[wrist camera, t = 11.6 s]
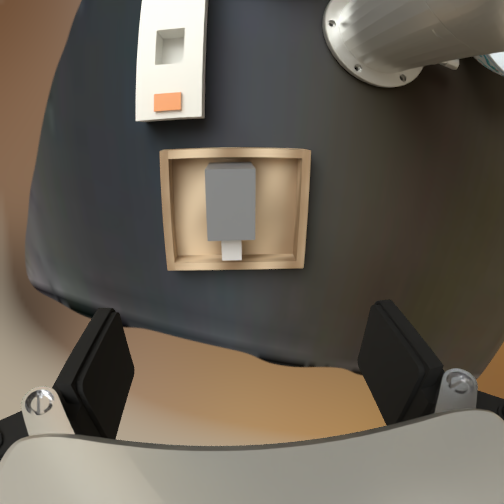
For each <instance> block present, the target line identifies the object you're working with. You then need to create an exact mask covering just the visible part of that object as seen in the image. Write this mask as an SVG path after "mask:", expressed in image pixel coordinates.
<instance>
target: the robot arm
mask: <svg viewBox="0 0 504 504" xmlns="http://www.w3.org/2000/svg"><path fill="white" fill-rule="evenodd" d="M329 24H330V25H331V26H332V27H331V26H329ZM322 28H323V33H324V38H325V40H326V43H327V46H328V48H329V49H330V51H331V53H332V55H333V56H334V58H335V59H336V60H337V61H338V62H339V64H340V65H341V66H342V67H343V68H344V69H345V70H347V71H348V72H349V73H350V74H351V75H353V76H354V77H356V78H357V79H359V80H361V81H363V82H365V83H367V84H370V85H373V86H377V87H384V88H391V87H398V86H403V85H405V84H407V83H410V82H411V81H413V80H414V79H415V78H416V77H417V76H418V75H419V74H420V72H421V71H422V69H423V66H427V65H431V64H434V65H435V64H437V63H439V64H441V65H442V66H445V67H447V68H450V69H452V70H456V69H457V68H458V66H459V59H461V58H467V57H473V56H479V55H486V54H492V53H499V52H504V0H331V1H330V2H329V3H328V5H327V7H326V9H325V11H324V15H323V22H322ZM354 67H355V68H356V69H357V71H356V70H355V68H354ZM400 78H401V79H400ZM358 366H359V368H360V370H361V372H362V374H363V377H364V379H365V381H366V383H367V385H368V387H369V389H370V391H371V393H372V395H373V397H374V399H375V401H376V404H377V406H378V408H379V410H380V412H381V414H382V416H383V419H384V421H385V423H386V425H387V426H383V427H379V428H374V429H370V430H365V431H361V432H356V433H350V434H345V435H340V436H333V437H327V438H321V439H313V440H305V441H297V442H288V443H278V444H264V445H246V446H184V445H165V444H153V443H142V442H132V441H122V440H115V439H116V435H117V431H118V427H119V424H120V420H121V417H122V413H123V410H124V406H125V403H126V400H127V396H128V393H129V390H130V386H131V383H132V380H133V377H134V365H133V362H132V359H131V355H130V352H129V348H128V344H127V341H126V337H125V333H124V330H123V326H122V322H121V318H120V314H119V313H118V312H115V310H114V309H113V308H98V310H97V311H96V313H95V314H94V316H93V318H92V319H91V321H90V322H89V324H88V326H87V328H86V329H85V331H84V332H83V334H82V336H81V337H80V339H79V341H78V342H77V344H76V346H75V347H74V349H73V351H72V353H71V354H70V356H69V358H68V360H67V361H66V363H65V365H64V367H63V369H62V370H61V372H60V374H59V376H58V378H57V380H56V382H55V383H54V385H53V387H52V388H50V387H47V386H41V387H36V388H34V389H32V390H30V391H29V392H27V393H26V394H25V396H24V397H23V399H22V402H21V409H22V411H20V412H18V413H16V414H14V415H11V416H9V417H7V418H5V419H2V420H0V504H504V399H502V398H499V397H495V396H492V395H490V394H487V393H484V392H481V391H478V390H477V388H478V386H477V382H476V380H475V378H474V377H473V376H472V375H471V374H470V373H468V372H467V371H465V370H462V369H450V370H448V371H446V372H444V370H443V369H442V368H443V366H444V365H443V364H442V363H441V361H440V360H439V359H438V358H437V356H436V355H435V354H434V352H433V351H432V350H431V348H430V347H429V346H428V345H427V343H426V342H425V341H424V339H423V338H422V337H421V336H420V334H419V333H418V332H417V331H416V329H415V328H414V327H413V326H412V324H411V323H410V322H409V321H408V320H407V318H406V317H405V316H404V315H403V313H402V312H401V311H400V310H399V309H398V307H397V306H396V305H395V304H394V303H393V301H391V300H381V301H376V302H375V304H374V305H372V306H371V308H370V313H369V317H368V321H367V325H366V330H365V334H364V338H363V341H362V345H361V349H360V353H359V356H358Z"/></svg>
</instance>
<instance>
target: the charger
mask: <svg viewBox="0 0 504 504" xmlns="http://www.w3.org/2000/svg"><path fill="white" fill-rule="evenodd" d="M255 190H256V168H255V167H254V166H253V164H252V163H251V162H213V163H209V164H208V166H207V167H206V169H205V193H206V218H207V239H208V241H221V246H222V261H227V260H242V243H241V240H255Z"/></svg>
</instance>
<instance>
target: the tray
mask: <svg viewBox="0 0 504 504" xmlns="http://www.w3.org/2000/svg"><path fill="white" fill-rule="evenodd" d="M213 162H251V163H252V164H253V166H254V167H255V168H256V190H255V240H241V243H242V260H227V261H222V246H221V241H208V239H207V218H206V193H205V169H206V167H207V166H208V164H209V163H213ZM310 162H311V150H306V149H294V148H260V147H219V148H186V149H166V150H162V151H160V175H161V195H162V211H163V225H164V237H165V248H166V259H167V269H168V270H241V269H289V268H303V267H304V256H305V243H306V230H307V216H308V200H309V183H310Z"/></svg>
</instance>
